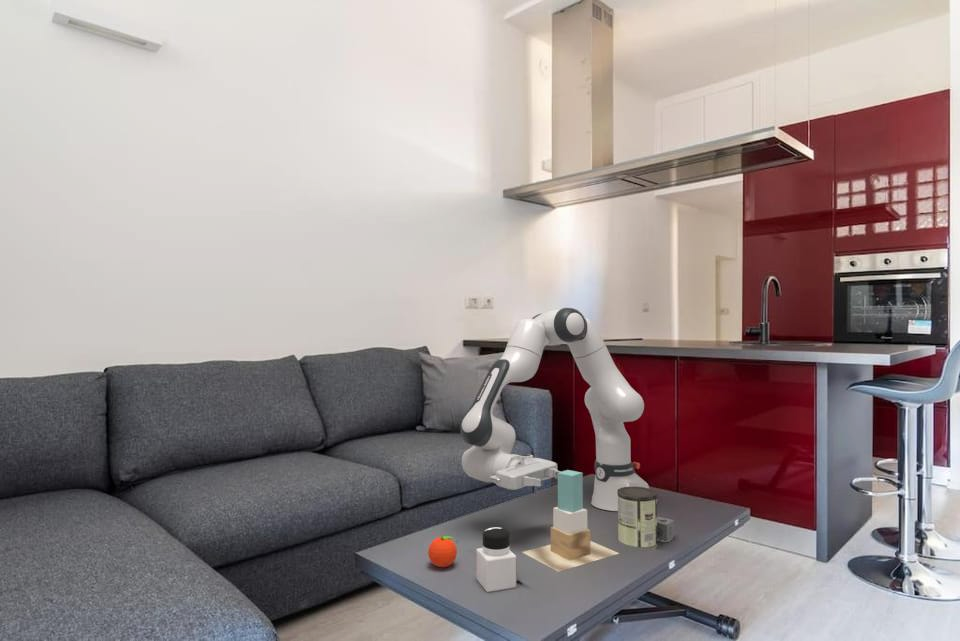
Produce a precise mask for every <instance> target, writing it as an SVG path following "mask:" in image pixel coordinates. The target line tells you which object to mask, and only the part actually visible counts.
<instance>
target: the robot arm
mask: <svg viewBox="0 0 960 641" xmlns="http://www.w3.org/2000/svg"><path fill="white" fill-rule="evenodd" d="M563 344H566V345H567V346H568V348H569V351H570V353H571V355H572V357H573V359H574V361H575V362H574V363H575V364H576V366H577V368H578V370H579V372H580V374H581V376H582V378H583V380H584V381H585V382H586V383H587V384H588V385H589V386H590V387H589V388H588V389H587V390H586V392H585V394H584V404H585V406H586V408H587V409H588V413H589V414H590V417H591V421H592V422H591V423H592V426H593V429H594V434H595V456H596V457H595V458H596V459H595V460H594V472H595V476H594V482H593V484H594V485H593V493H592V495H591V503H590V504H591V505H592V506H593V507H595V508H597V509H600V510H604V511H605V510H606V511H610V512H618V494H617V490H618V489H620V488H623V487H644V488H649V489H650V486H649V484H648V483H647V481H645V480H644V479H643V478H642V477H640V476H639V475H638V474H637V473H636V471H635V469H637V470H639V469H640V468H641V464H640V462H636V461H633V462H632V460H631V456H632V455H631V444H632V443H631V437H630V435H629V434H628V432H627V430H626V428H625V424H624V423H628V422H629V423H630V422H634V421H637V420H639V419H640V418H641V417H642V415H643V413H644V409H645V402H644V400H643V397H642V396H641V395H640V393H638V392H637V391H636V390H635V389H634V388H633V387H632V386H631V385H630V383H629V382H628V381H627V380H626V378H625V377H624V376H623V374H622V373H621V372H620V370H619V369H618V367H617V366H616V364H615V361H614V360H613V358H612V356H611V354H610V352H609V349H608V348H607V345H606V343H605V341H604V339H603V336H602V335H601V333H600V331H599V330H598V328H597V327H596V325H595V324H594V323H593V321H592V320H591V319H590V318H588V317H585V316H584V315H583V313H582V312H580V311H579V310H578V309H576V308H572V307H563V308H555V309H551V310H548V311H546V312H543V313H538V314H536V315H534V316H533V317H531V318H522V319H520V320H519V321H518V322H517V323H516V325H515V327H514V328H513V330H512V333H511V334H510V337H509V339H508V342H507V344H506V347H505V350H504V352H503V354H502V356H501V357H500V358H499V359H497V360H496V361H494V362H493V364H492V365H491V367H490V368H489V370H488V371H487V373H486V376H485V378H484V380H483V381H482V383H481V385H480V388H479V389H478V391H477V394H476V396H475V397H474V400H473V402H472V404H471V406H469V408H468V409H467V411H466V413H465V414H464V415H463V417H462V418H461V421H460V435H461V438H462V440H463V441H464V442H465V443H467V444H468V445H472V446H471V447H469V448H468V449H466V450H465V451H464V452H463V454H462V457H461V466H462V469H463V471H464V473H466V475H467V476H469V477H470V478H472V479H475V480H477V481H481V482H484V483H494V484H496V486H498V487H500V488H504V489H505V490H506V489H507V490H511V491H512V490H514V491H515V490H518V489H519V490H520V489H521V488H524V487H525V488H526V487H541V486H544V481H546V480H549V479H552V478H554V479H556V480H558V473H559V472H562V471H560V470H558V463H557V462H554V461H552V460H548V459H544V458H540V457H534V455H533V454H515V453H513V450H514V447H515V444H516V440H517V434H516V429H515V428H514V426H513V425H512V424H510V423H508V422H506V421H505V420H503V419H501V418H498V417H496V416H494V412H493V411H494V408H495V406H496V404H497V401H498V400H499V397H500V395H501V393H502V392H503V391H502V390H503V389H504V387H505V386H507V385H508V384H509V383H523V382H527V381H528V380H530V379H532V378H533V377H534V376H535V375H536V373H537V371H538V369H539V367H540V366H539V365H540V362H541V359H542V355H543V353H544V348H545V347H546V346H547V347H548V346H559V345H563Z"/></svg>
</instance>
